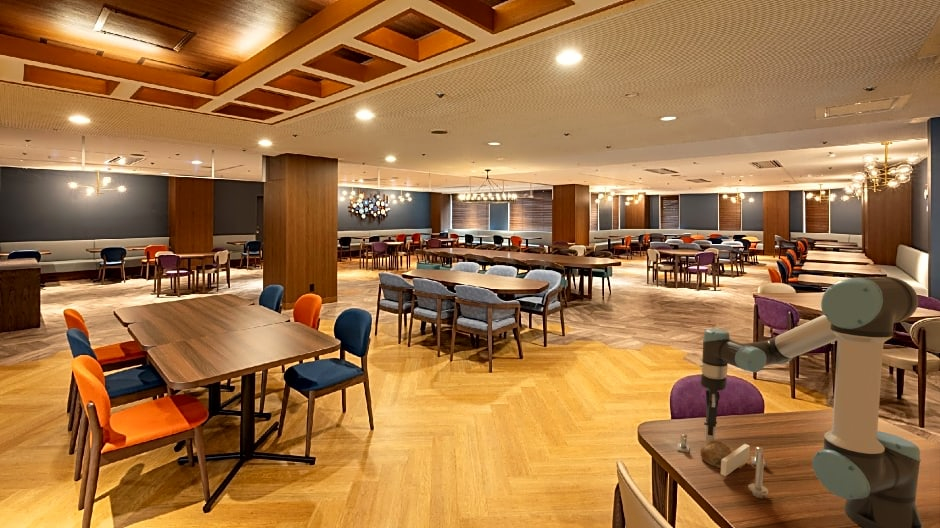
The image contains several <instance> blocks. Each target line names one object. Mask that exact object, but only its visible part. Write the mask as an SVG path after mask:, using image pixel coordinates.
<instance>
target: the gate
mask: <svg viewBox="0 0 940 528" xmlns="http://www.w3.org/2000/svg"><path fill="white" fill-rule="evenodd" d="M750 449H751V447H750V445H749V444H747V443H743V444H741V446H739V447H737V448H735V450H733V452H732V453H731V454H729V455H728V456H726V457H725V458H723V459H722V460H721V468H720V475H722V476H724V477H726V476H728V475H729V474H731V473H732V472H734V471H735V470H736V469H737V468H739V467H740V466H742V465H743V464H745V463H746V462H747V461H749V460H750Z"/></svg>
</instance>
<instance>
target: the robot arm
mask: <svg viewBox="0 0 940 528" xmlns="http://www.w3.org/2000/svg"><path fill="white" fill-rule="evenodd" d="M820 303H821V304H820V306H821V307H820V308H821V312H822V315H820V316H817V317H816V318H813V319H811V320H810V321H807V322H805V323H802V324H801V325H798V326H796V327H794V328H792V329H790V330H787V331H785V332H783V333H781V334H778V335H777V336H774V337H772V338H770V339H768V340H767V339H766V340H763V341H756V342H755V341H752V342H745V343H743V342H738V341H734V340H732V339H731V337H730V333H729V331H727V330H725V329H720V328H708V329H706V330H705V331H704V333H703V334H704V335H703V339H702V357H701V358H702V360H701V361H702V362H701V363H700V364H699V368H701V373H702V374H701V375H700V385H701V386H702V387H703V388H704V389H706V390H705V403H706V408H705V409H706V410H705V412H706V414H705V418H706V419H705V422H703V423H704V425H705V431H704V433H705V434H704V444H706V443H708V442H711V441H715V436H716V435H715V432H716V426H717V424H718V421H717V415H718V407H719V401H720V398H721V397H720V391H725V390H726V387H727V376H728V368H729V367H728V365H731V366H734V367H736V368H739V369H741V370H743V371H746V372H751V373H758V372H760V371H761V370H763V369H764V368H765V367H766V366H769V365H770V366H772V365H782V364H786V363H788V362H789V363H790V362H791V361H792V360H793V358H795V357H798V356H800V355H803V354H805V353H808V352H810V351H813V350H816V349H818V348H821V347H823V346H827V345H828V344H831V343H834V342H837V343H836V345H837V346H836V361H835V378H834V392H833V393H834V394H833V395H834V396H833V410H832V411H833V412H832V413H833V414H832V429H830V430H828V431H827V432H825V433H824V434H823V435H824V436H823V447H822V448H823V449H822V448H821V449H820V450H818V451H817V452H816V453H815V454H814V455H813V457H812V460H811V461H812V462H811V465H812V469H813V472H814V474H815V476H816V478H817V480H818V481H820V483H821V485H822V486H823V487H824V488H825V489H826V490H827V491H829V492H830V493H831V494H833V495H835V496H836V497H839V498H841V499H845V506H844V507H845V508H844V511H845V513H846V516H848V517H849V518H850V520H852V521H853V522H854V523H856V524H857V525H859V526H860V527H863V528H923V526H924V525H923V523H922V519H921V517H920V513H919V511H918V506H917V503H916V499H917V498H916V497H917V492H918V491H917V489H918V482H919V472H920V463H921V461H922V460H921V450H920V447H919V446H917V445H916V444H915V443H913V441H910V440H908V439H906V438H903V437H901V436H898V435H895V434H891V433H887V432H884V431H880V430H878V428H879V427H878V426H879V415H880V414H879V412H880V411H879V410H880V398H881V397H880V396H881V384H882V368H883V353H884V352H883V351H884V344H885V342H887V341H888V340H891V339H892V338H893V332H894V324H895V323H902V322H903V321H905V320H908V319H909V318H911V317H912V316H913V315H914V314H915V312H916V311H917V309H918V305H919V297H918V294H917V292H916V290H915V289H914V288H913V286H911V285H910V284H909V283H908V282H907V281H904V280H902V279H900V278H897V277H893V276H876V277H871V276H870V277H851V278H846V279H841V280H839V281H836V282H834V283H833V284H831V285H830V286H828V287H827V289H826V290H825V291H824V293H823V295H822V297H821V301H820ZM704 425H703V426H704Z"/></svg>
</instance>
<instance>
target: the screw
mask: <svg viewBox="0 0 940 528" xmlns="http://www.w3.org/2000/svg"><path fill="white" fill-rule="evenodd" d="M763 454H764V453H763ZM763 454H762V453H761V452H759V453H758V460H757V462H756V463H757V464H756V465H755V467H756V468H755V475H754V476H755V478H754V482H753V483H750V484H748V487H747V488H748V489H749V490H750V491H751V492H752V496H754V497H755V498H758V499H763V498H764V495H765V496H766V495H768V494H769V490H768V488H767V487H766V486H764V485H763V482H764V481H763V480H764V479H763V478H764V468H765V467H763V466H764V465H763V464H764V463H763V462H764V461H765V460H764V461H763V458H764V455H763Z"/></svg>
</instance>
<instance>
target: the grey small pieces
mask: <svg viewBox="0 0 940 528" xmlns="http://www.w3.org/2000/svg"><path fill="white" fill-rule="evenodd" d="M687 442H688V434H686V433H681V434H680V441H679V442H677V451H678V452H683V453H690V445H689V444H688V443H687ZM754 450H755V451H754V452H755V453H754V456H752V455H751V456H750V460H751V463H752V466H753V465H754V466H757V465H756V464H757V463H756V462H757V460H758V453H759V452H761V453H762V454H764V453H763V451H764V448H763V447H762V446H755V449H754ZM763 461H764V462H763V463H764V464H763V465H764V466H763V467H764V468H766V467H767V463H766V460H765V458H764V457H763Z"/></svg>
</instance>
